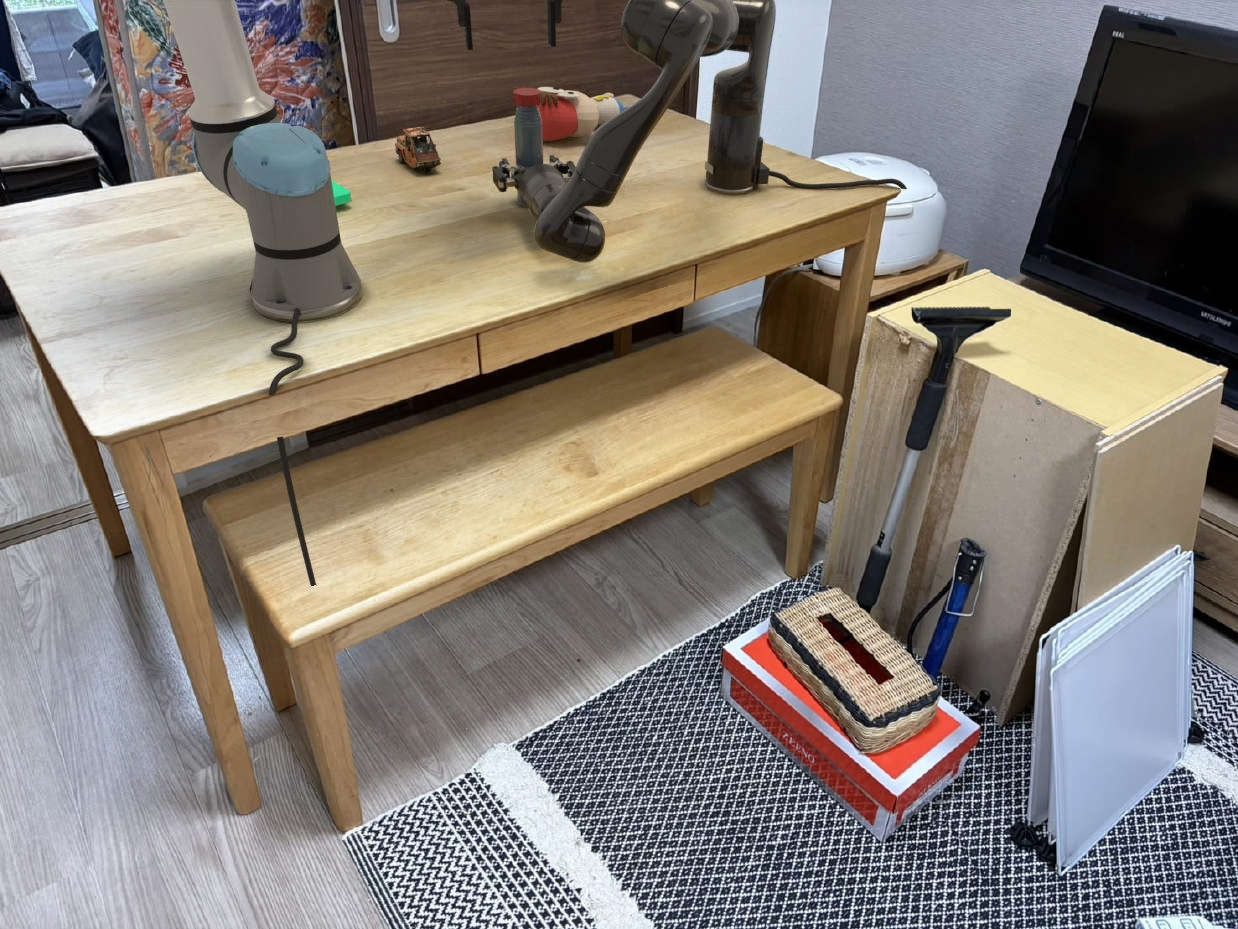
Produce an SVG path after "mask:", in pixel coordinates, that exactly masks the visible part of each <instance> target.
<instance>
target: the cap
mask: <svg viewBox="0 0 1238 929" xmlns="http://www.w3.org/2000/svg"><path fill="white" fill-rule="evenodd" d="M512 92H513V94H512V96H513V97H512V100H513V105H515V106H517V107H518V106H522V107H534V106H538V105H540V104H541V102H542V96H541V91H540V90H539V89H538V88H535V87H519V88H516V89H514V90H513V91H512Z"/></svg>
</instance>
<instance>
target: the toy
mask: <svg viewBox="0 0 1238 929" xmlns="http://www.w3.org/2000/svg"><path fill="white" fill-rule="evenodd" d="M537 89H539V90H540V91H541V96H542V102H541V104H540V105H538V108H539V111H540V115H541V118H542V127H543V142H553V141H558V140H563V139H566V138H569V137H572V138H580V137H581V138H582V137H585V136H588V135H590V134H591V133H592V132H593V131H595V129H596V128H597V126H601V125H603V124H604V123H605V122H607V121H608V120H610V119H611V118H613V117H614V116H616V115H618V114H619V113H621V112H622V111H624V110H626V109H627V108H629V107H630V106H624V105H623V103H622V102H621V101H620V100H619V99H617V98H615V95H614V94H613V93H611V92H605V93H604V94H600V95H596V96H592V97H590V95H589V94H587V93H583V92H581V91H578V90H568V89H567V90H566V89H565V90H564V89H562V88H560V87H554V86H553V87H552V86H539V87H538V88H537Z"/></svg>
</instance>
